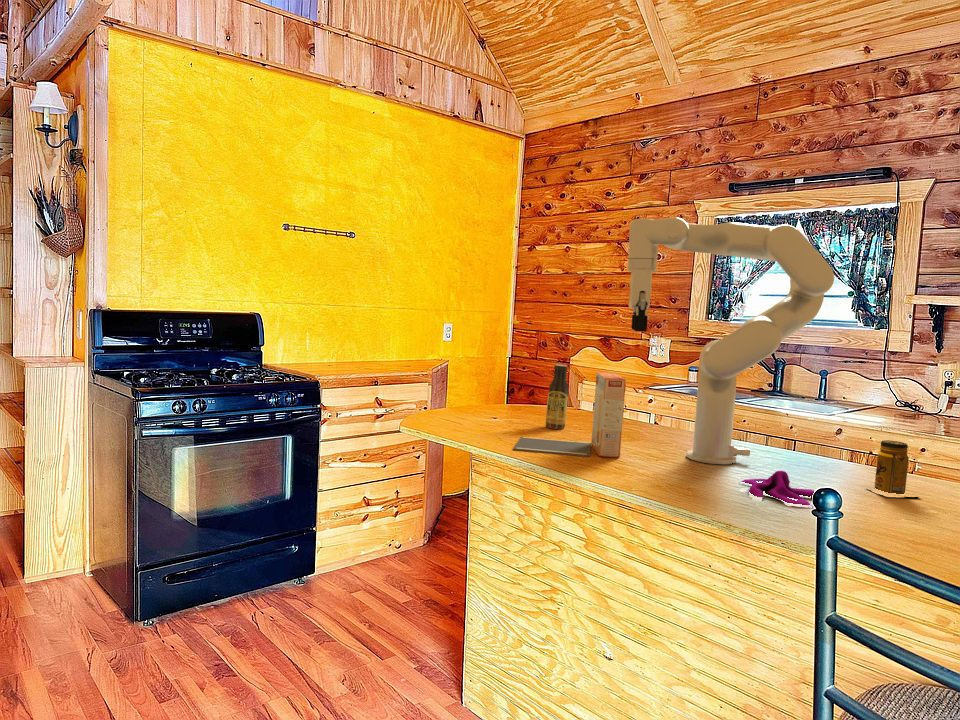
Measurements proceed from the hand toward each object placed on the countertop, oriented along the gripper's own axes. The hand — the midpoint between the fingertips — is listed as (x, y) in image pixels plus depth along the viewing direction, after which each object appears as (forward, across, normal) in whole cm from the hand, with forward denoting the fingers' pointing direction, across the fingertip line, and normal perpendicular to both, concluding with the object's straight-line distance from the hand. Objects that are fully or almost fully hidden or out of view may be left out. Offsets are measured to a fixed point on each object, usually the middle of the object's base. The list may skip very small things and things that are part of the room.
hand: (638, 330), depth 185 cm
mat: (+32, +3, -21) cm, 39 cm away
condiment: (+34, +24, +56) cm, 70 cm away
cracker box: (+33, +4, -7) cm, 34 cm away
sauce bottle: (+33, -25, -22) cm, 47 cm away
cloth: (+34, +34, +28) cm, 56 cm away
